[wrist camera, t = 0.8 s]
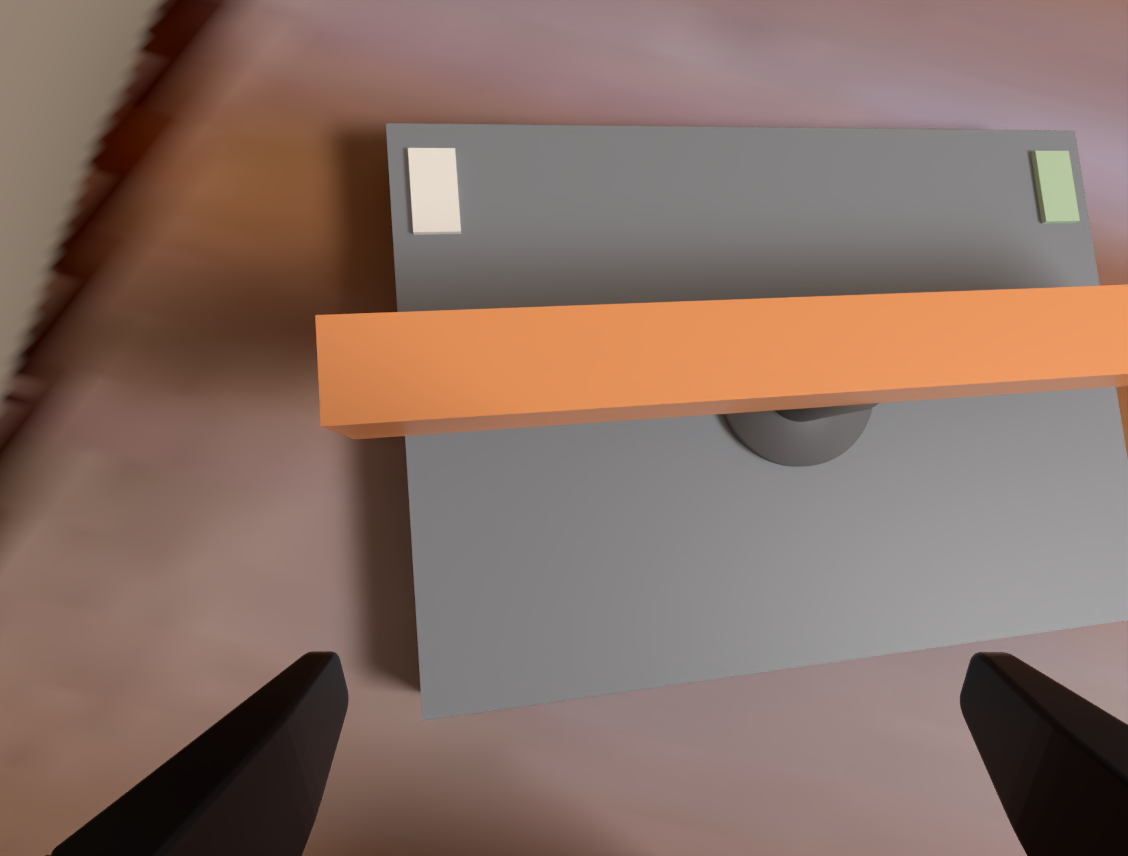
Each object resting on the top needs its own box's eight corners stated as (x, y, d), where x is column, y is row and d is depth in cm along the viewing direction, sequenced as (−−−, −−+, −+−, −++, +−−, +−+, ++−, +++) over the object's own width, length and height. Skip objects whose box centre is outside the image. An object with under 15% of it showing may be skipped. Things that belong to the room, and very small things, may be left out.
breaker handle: (1138, 397, 25) (1408, 362, 17) (374, 453, 20) (321, 436, 13) (1127, 330, 25) (1390, 268, 18) (370, 369, 20) (314, 305, 13)
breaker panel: (1090, 604, 26) (1164, 618, 23) (427, 695, 22) (421, 725, 19) (1023, 161, 28) (1084, 125, 25) (394, 160, 23) (384, 116, 21)
